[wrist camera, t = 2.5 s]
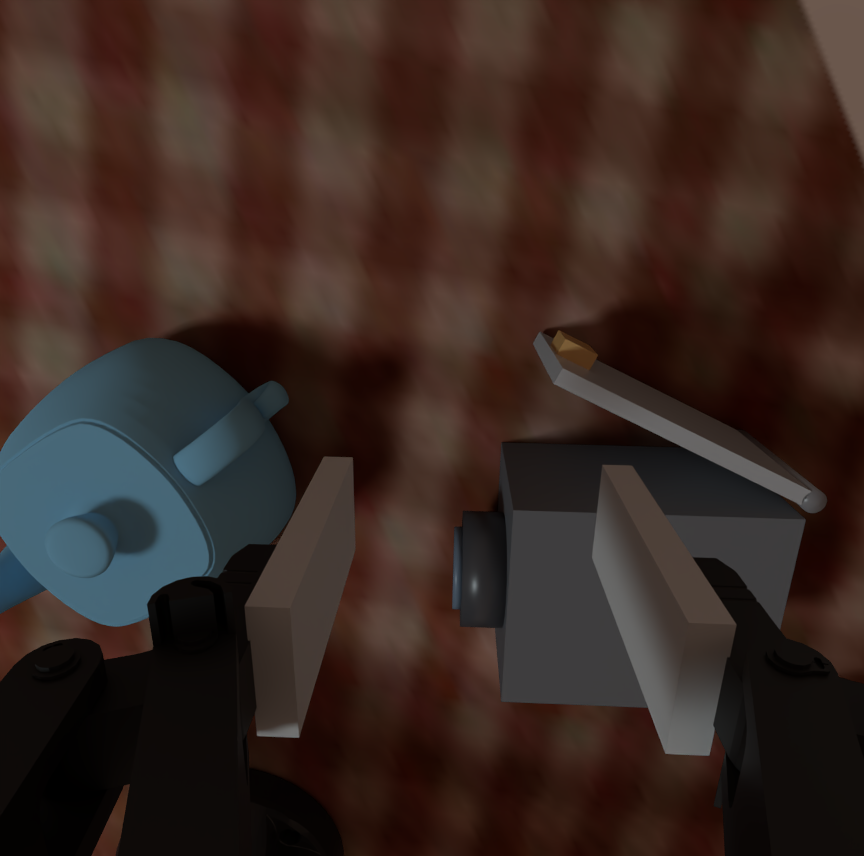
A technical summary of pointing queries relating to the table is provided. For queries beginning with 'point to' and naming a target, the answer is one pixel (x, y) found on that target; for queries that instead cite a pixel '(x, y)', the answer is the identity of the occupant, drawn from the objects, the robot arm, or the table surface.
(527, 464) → the camera case
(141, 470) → the teapot
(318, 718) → the table surface
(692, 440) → the side door
